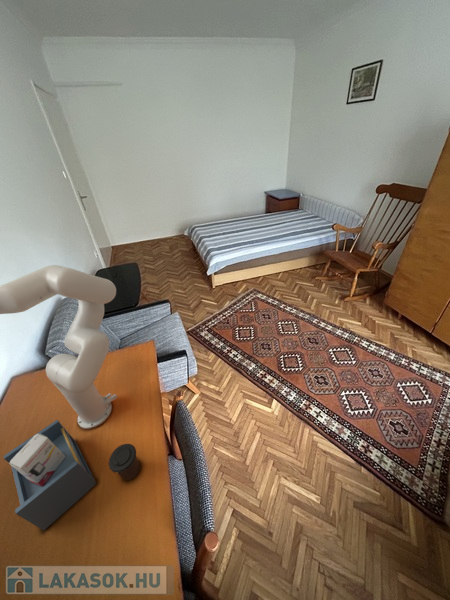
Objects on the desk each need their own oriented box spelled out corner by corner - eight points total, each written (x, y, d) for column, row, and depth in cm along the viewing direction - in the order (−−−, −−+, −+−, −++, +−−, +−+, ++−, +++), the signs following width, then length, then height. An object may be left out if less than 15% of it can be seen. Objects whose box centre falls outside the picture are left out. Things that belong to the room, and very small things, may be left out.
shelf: (75, 440, 88) (57, 419, 81) (96, 483, 76) (77, 463, 69) (28, 475, 80) (3, 455, 72) (43, 530, 68) (15, 513, 60)
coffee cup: (119, 490, 74) (107, 476, 69) (117, 463, 81) (107, 448, 75) (145, 476, 77) (136, 462, 71) (142, 452, 83) (133, 437, 77)
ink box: (42, 487, 69) (19, 469, 63) (30, 482, 71) (6, 464, 65) (67, 456, 76) (49, 436, 70) (55, 451, 78) (36, 432, 71)
